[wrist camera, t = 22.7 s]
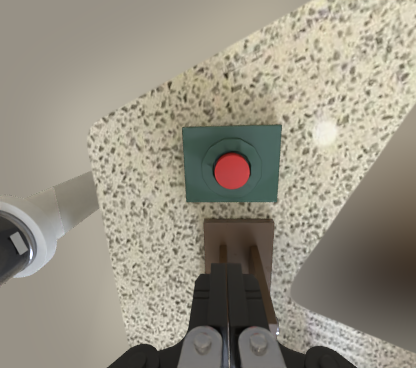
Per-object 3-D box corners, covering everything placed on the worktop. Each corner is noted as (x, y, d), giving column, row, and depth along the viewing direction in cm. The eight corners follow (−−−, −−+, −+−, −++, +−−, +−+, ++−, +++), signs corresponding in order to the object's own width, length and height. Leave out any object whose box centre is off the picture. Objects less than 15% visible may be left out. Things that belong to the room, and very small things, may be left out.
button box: (188, 197, 30) (183, 208, 26) (184, 126, 27) (178, 128, 24) (274, 197, 29) (280, 208, 25) (278, 124, 26) (286, 125, 23)
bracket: (268, 287, 33) (295, 390, 21) (206, 286, 33) (196, 384, 21) (272, 218, 30) (307, 291, 17) (204, 218, 30) (191, 288, 18)
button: (215, 184, 26) (214, 189, 24) (214, 152, 24) (214, 155, 23) (247, 184, 25) (249, 189, 24) (248, 152, 24) (250, 155, 23)
